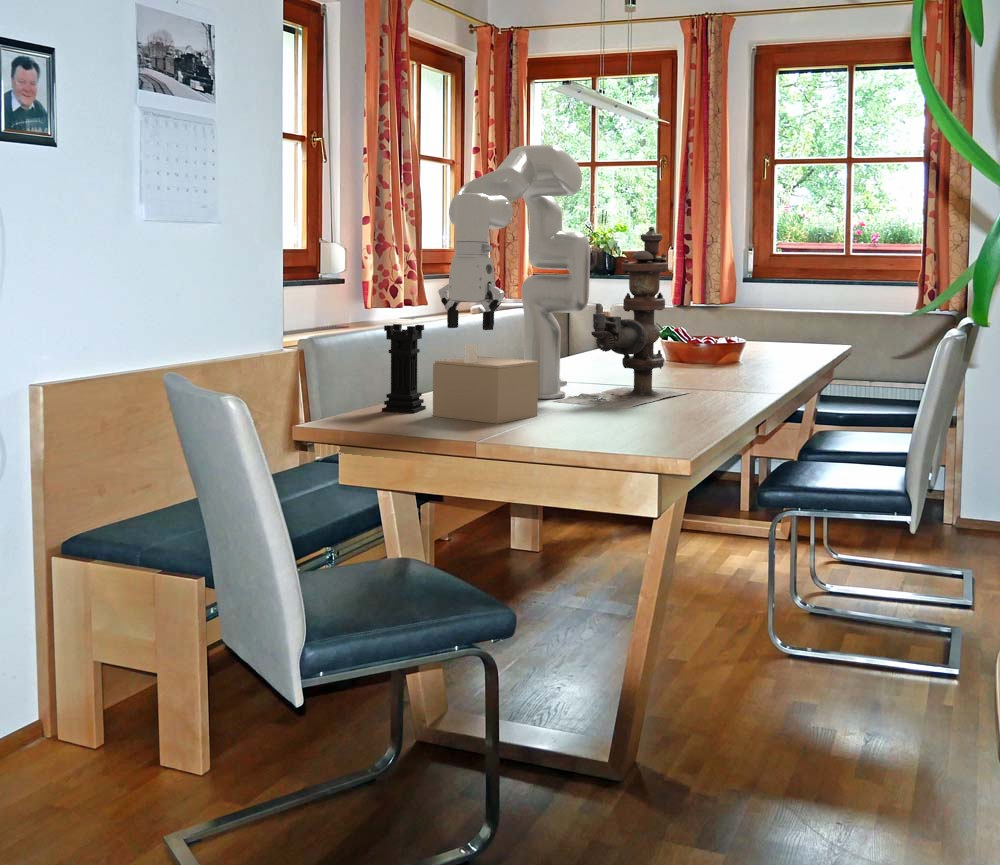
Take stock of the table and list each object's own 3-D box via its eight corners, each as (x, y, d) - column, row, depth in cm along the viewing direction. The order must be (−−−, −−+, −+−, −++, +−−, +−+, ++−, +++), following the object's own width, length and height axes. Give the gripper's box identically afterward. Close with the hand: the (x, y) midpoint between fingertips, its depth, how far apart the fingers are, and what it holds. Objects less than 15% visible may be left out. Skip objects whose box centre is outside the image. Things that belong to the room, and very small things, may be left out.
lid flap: (476, 358, 265) (476, 339, 264) (538, 363, 255) (538, 343, 254) (435, 363, 252) (435, 342, 252) (498, 368, 242) (498, 347, 242)
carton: (474, 408, 267) (474, 358, 265) (537, 415, 257) (538, 363, 255) (432, 416, 254) (433, 363, 252) (497, 423, 244) (498, 369, 242)
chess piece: (425, 409, 265) (426, 324, 262) (414, 413, 258) (414, 326, 255) (394, 407, 268) (394, 323, 264) (381, 411, 260) (381, 325, 257)
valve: (624, 410, 272) (635, 222, 264) (552, 401, 283) (560, 221, 275) (692, 395, 307) (703, 228, 299) (626, 387, 318) (635, 227, 310)
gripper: (513, 251, 243) (511, 330, 245) (450, 251, 253) (449, 326, 255) (493, 250, 237) (492, 331, 239) (430, 250, 247) (429, 327, 249)
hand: (470, 328), depth 247 cm, fingers open, 9 cm apart
